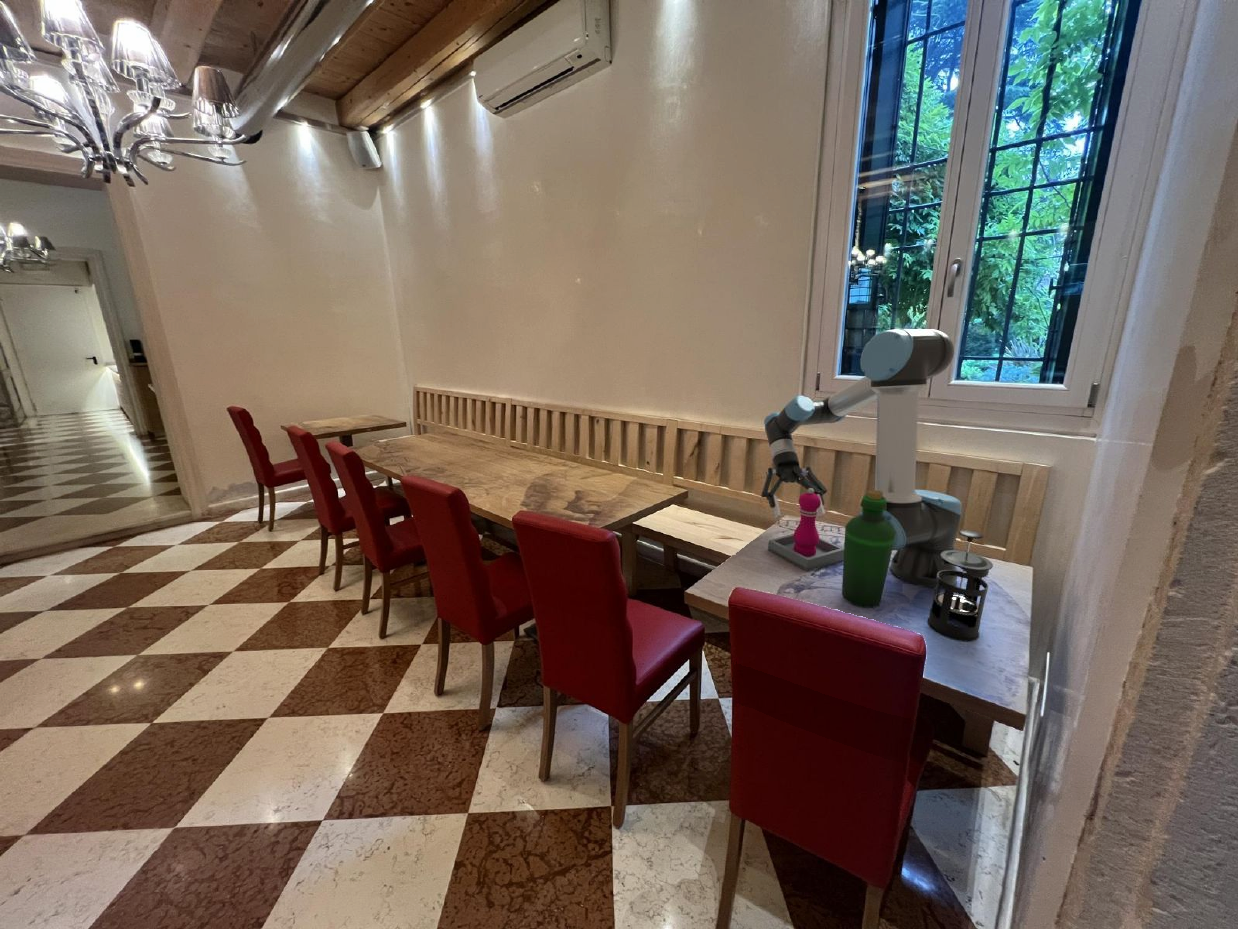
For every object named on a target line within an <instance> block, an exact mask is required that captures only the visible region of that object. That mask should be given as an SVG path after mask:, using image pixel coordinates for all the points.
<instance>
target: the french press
mask: <svg viewBox="0 0 1238 929" xmlns="http://www.w3.org/2000/svg"><path fill="white" fill-rule="evenodd" d="M958 534H959V535H961V536H963V537H965V538H966V537H967V538H966V541H967V542H968V543H967V547H966V548H967V549H966V551H965V550H959V549H958V550H956V549H954V550H947V551H943V552H942V553H941V558H942V565H946V564H952V565H954V566H956V568H957V567H958V568H960V569H961V570H962V571H961V570H957V571H955V570H943V571H939V572H938V573H937V577H936V587H935V588H934V594H933V599H932V604H931V607H930V612H929V615H928V616H929V617H928V618H927V622H926V623H927V625H928V626H929V628H930V629H931V630H932V631H933V632H935V633H936V634H939V635H940V636H943V637H945V638H947V639H951V640H953V641H956V642H957V641H958V642H974V641H977V640H978V639H979V638H980V631H979V630H980V627H981V620H982V616H983V611H984V607H985V601H986V597H987V593H988V591H989V590H988V589H989V584H988V583H987V582H986V581H985V580H984V579H983V578H986V577H987V576H989V572H990V570H992V568H993V566H994V564H993V562H992V561H991V560H990V559H987V558H986V557H983V555H982V556H981V555H979V554H976V553H973V552H970V548H971V543H973V542H974V541H973V540H974V539H975V540H976V539H978V540H979V539H983V538H985V537H984V535H983V534H982V533H980V532H978V531H974V530H969V529H968V530H967V529H960V530H959V531H958ZM942 576H957V578H961V580H960V583H959V586H955V585H954V586H952V585H950V584H948V583H946V582H944V581H942ZM964 579H966V580H967V581H966V584H965V585H966V586H965V588H962V586H963V581H964ZM981 586H982V587H983V589H981ZM940 587H943V588H942V589H944V590H943V591H944V592H941V593H940V591H941V588H940ZM978 598H979V602H978ZM949 620H951V621H955V622H959V623H960V624H963V625H964V626H962V625H956V624H954V623H951V622H949Z"/></svg>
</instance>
